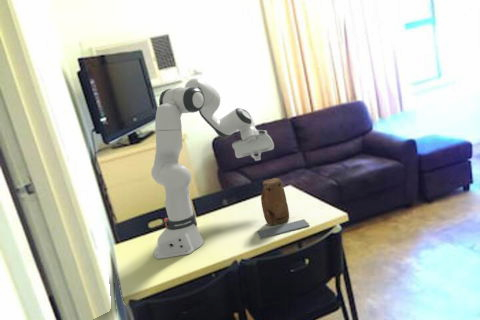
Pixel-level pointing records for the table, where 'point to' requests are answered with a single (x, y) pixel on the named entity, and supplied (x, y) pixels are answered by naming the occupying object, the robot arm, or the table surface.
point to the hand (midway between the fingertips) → (258, 159)
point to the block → (274, 202)
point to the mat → (282, 228)
